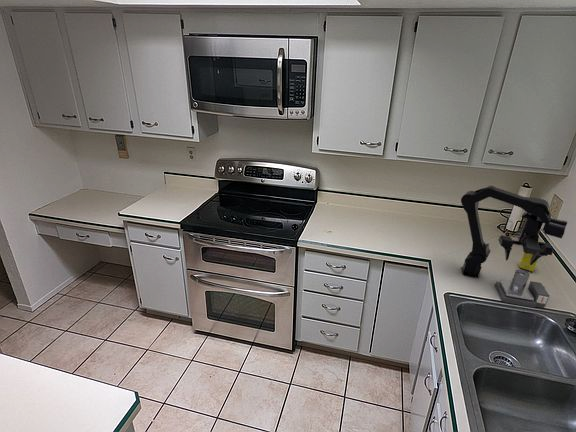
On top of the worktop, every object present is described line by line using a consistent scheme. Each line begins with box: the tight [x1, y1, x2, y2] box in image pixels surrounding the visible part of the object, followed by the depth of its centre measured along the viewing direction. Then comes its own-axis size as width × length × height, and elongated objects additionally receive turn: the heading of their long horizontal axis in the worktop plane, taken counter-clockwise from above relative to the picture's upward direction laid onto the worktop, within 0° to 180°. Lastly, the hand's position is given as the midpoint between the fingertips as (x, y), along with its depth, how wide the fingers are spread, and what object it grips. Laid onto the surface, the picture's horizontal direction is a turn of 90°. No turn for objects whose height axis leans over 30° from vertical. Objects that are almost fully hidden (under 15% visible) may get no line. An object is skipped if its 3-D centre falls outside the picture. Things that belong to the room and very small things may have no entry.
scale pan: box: [499, 279, 534, 300], centre depth 148 cm, size 10×10×1 cm
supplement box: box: [518, 252, 539, 273], centre depth 168 cm, size 6×6×11 cm
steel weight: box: [510, 268, 531, 292], centre depth 146 cm, size 5×5×8 cm
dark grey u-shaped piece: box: [494, 280, 550, 309], centre depth 148 cm, size 16×12×6 cm
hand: (518, 262), depth 150 cm, fingers open, 9 cm apart
